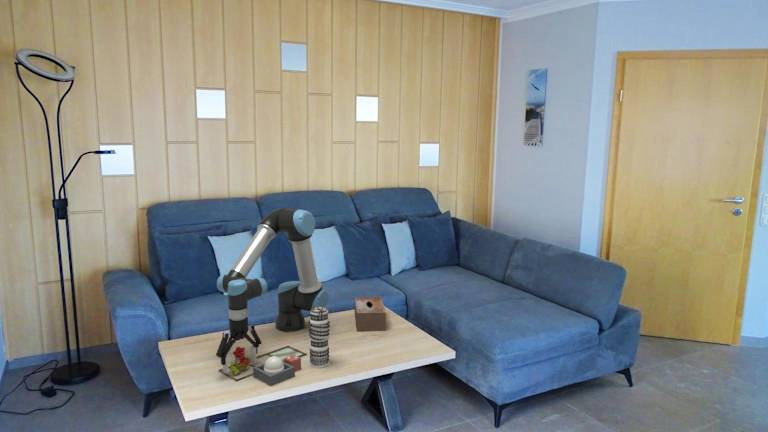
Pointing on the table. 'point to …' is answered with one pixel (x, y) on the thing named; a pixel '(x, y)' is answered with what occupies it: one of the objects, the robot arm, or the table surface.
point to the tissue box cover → (370, 314)
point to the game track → (279, 353)
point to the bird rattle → (243, 358)
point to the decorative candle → (319, 337)
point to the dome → (273, 365)
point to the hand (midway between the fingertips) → (240, 366)
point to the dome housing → (290, 367)
